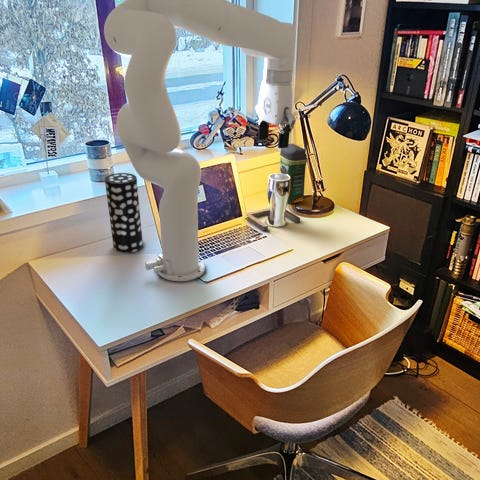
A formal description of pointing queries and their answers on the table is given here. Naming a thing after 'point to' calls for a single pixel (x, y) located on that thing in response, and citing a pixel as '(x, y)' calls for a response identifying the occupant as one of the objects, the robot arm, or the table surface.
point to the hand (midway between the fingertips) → (272, 143)
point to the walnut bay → (265, 212)
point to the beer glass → (277, 198)
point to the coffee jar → (294, 169)
